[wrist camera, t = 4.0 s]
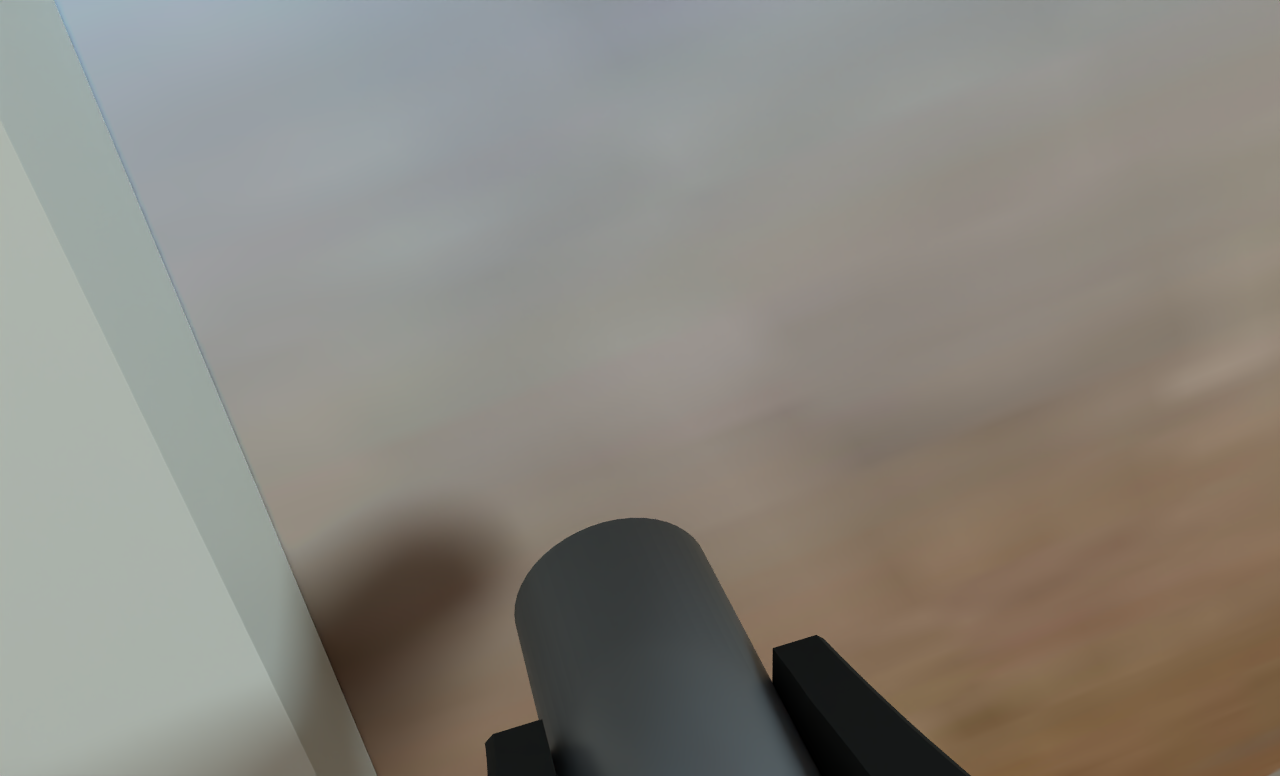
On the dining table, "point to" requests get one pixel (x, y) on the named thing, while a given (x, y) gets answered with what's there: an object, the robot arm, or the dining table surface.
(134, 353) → the socket block
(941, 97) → the dining table surface
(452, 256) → the dining table surface
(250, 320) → the dining table surface
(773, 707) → the plug
